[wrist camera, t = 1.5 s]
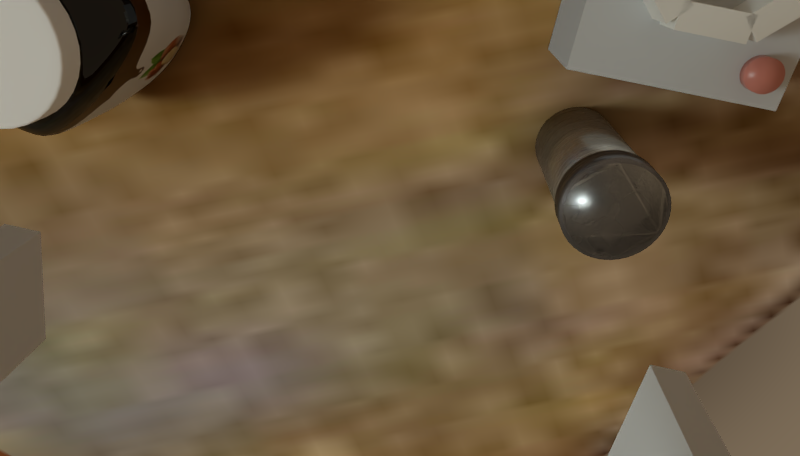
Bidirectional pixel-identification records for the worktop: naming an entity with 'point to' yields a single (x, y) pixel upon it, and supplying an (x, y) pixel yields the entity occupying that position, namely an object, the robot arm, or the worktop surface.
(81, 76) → the spread jar
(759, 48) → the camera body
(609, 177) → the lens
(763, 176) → the worktop surface
